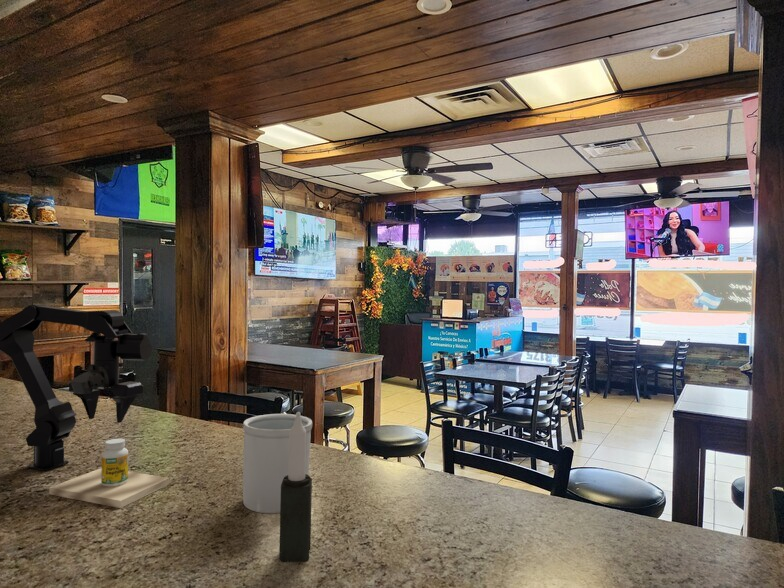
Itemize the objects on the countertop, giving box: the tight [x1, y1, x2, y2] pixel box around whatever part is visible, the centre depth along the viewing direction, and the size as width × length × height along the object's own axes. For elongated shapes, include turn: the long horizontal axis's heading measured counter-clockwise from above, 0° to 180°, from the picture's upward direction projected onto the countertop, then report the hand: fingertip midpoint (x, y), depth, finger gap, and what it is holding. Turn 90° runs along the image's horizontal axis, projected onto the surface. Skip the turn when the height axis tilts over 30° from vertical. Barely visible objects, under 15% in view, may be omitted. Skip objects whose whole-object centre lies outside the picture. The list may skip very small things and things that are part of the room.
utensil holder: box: [242, 413, 313, 514], centre depth 111 cm, size 15×15×18 cm
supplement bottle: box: [101, 438, 129, 487], centre depth 115 cm, size 5×5×10 cm
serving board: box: [48, 467, 170, 509], centre depth 115 cm, size 20×14×2 cm
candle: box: [278, 411, 313, 563], centre depth 88 cm, size 5×5×25 cm
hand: (105, 420), depth 128 cm, fingers open, 9 cm apart
